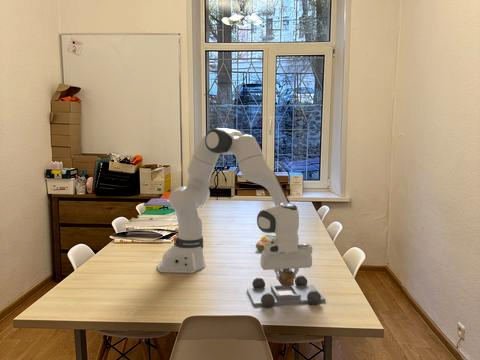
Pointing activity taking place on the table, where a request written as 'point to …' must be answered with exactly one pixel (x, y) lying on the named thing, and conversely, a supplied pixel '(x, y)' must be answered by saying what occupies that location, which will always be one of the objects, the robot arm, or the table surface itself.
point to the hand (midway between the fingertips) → (285, 278)
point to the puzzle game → (264, 239)
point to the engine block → (286, 277)
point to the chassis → (284, 293)
